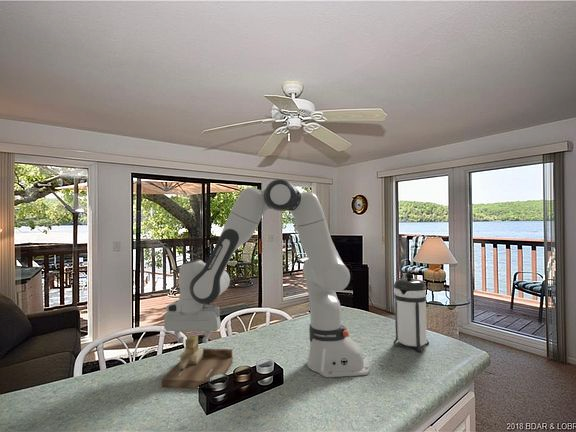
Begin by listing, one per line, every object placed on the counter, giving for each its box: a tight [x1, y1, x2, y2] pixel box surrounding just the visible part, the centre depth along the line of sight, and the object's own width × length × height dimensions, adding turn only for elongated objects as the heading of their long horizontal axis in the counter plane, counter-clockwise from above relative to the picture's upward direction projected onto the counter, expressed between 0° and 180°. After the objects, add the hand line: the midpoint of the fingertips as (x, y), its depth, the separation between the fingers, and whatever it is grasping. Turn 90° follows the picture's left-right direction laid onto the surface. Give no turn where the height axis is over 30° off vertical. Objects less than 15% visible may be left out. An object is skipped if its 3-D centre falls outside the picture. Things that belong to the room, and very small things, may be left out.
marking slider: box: [179, 335, 204, 371], centre depth 106 cm, size 6×12×8 cm, turn 174°
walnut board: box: [161, 347, 233, 390], centre depth 104 cm, size 18×18×5 cm
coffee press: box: [392, 272, 430, 353], centre depth 127 cm, size 17×16×30 cm
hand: (193, 342), depth 109 cm, fingers open, 8 cm apart
